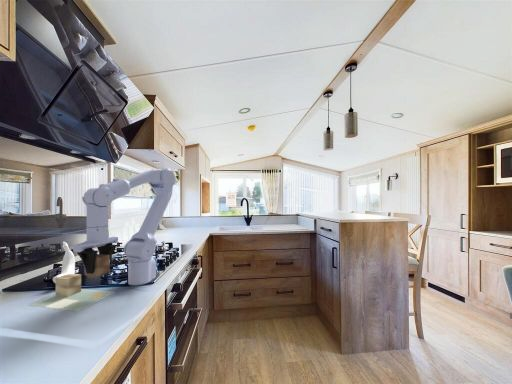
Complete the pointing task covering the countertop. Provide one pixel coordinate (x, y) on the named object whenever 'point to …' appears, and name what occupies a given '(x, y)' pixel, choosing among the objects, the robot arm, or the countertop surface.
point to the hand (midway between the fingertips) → (97, 270)
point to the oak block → (68, 285)
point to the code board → (73, 300)
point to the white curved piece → (67, 262)
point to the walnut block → (100, 265)
